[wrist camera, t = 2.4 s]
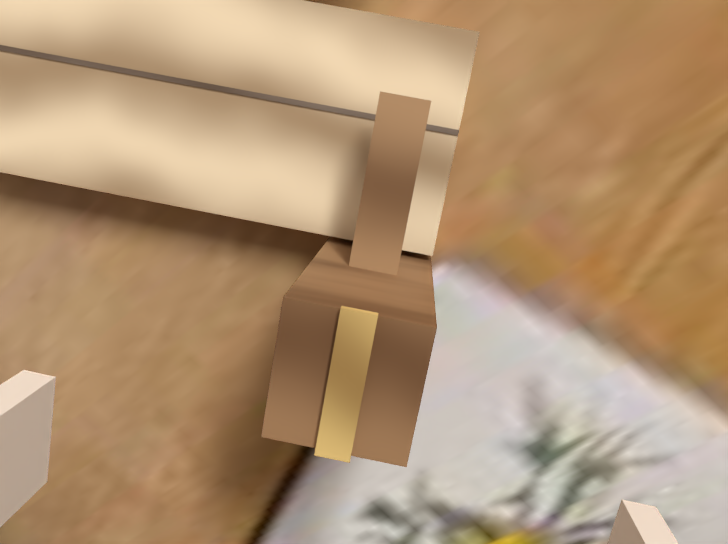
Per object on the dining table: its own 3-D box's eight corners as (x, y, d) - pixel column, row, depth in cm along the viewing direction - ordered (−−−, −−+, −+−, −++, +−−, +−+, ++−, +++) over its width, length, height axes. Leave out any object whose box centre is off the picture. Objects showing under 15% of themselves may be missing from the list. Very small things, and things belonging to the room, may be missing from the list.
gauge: (410, 348, 34) (405, 474, 22) (315, 329, 34) (258, 443, 22) (460, 110, 31) (486, 103, 19) (356, 91, 31) (316, 71, 19)
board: (431, 247, 32) (432, 256, 30) (-14, 161, 33) (-41, 164, 31) (475, 37, 30) (479, 31, 28) (-5, -49, 31) (-34, -61, 29)
